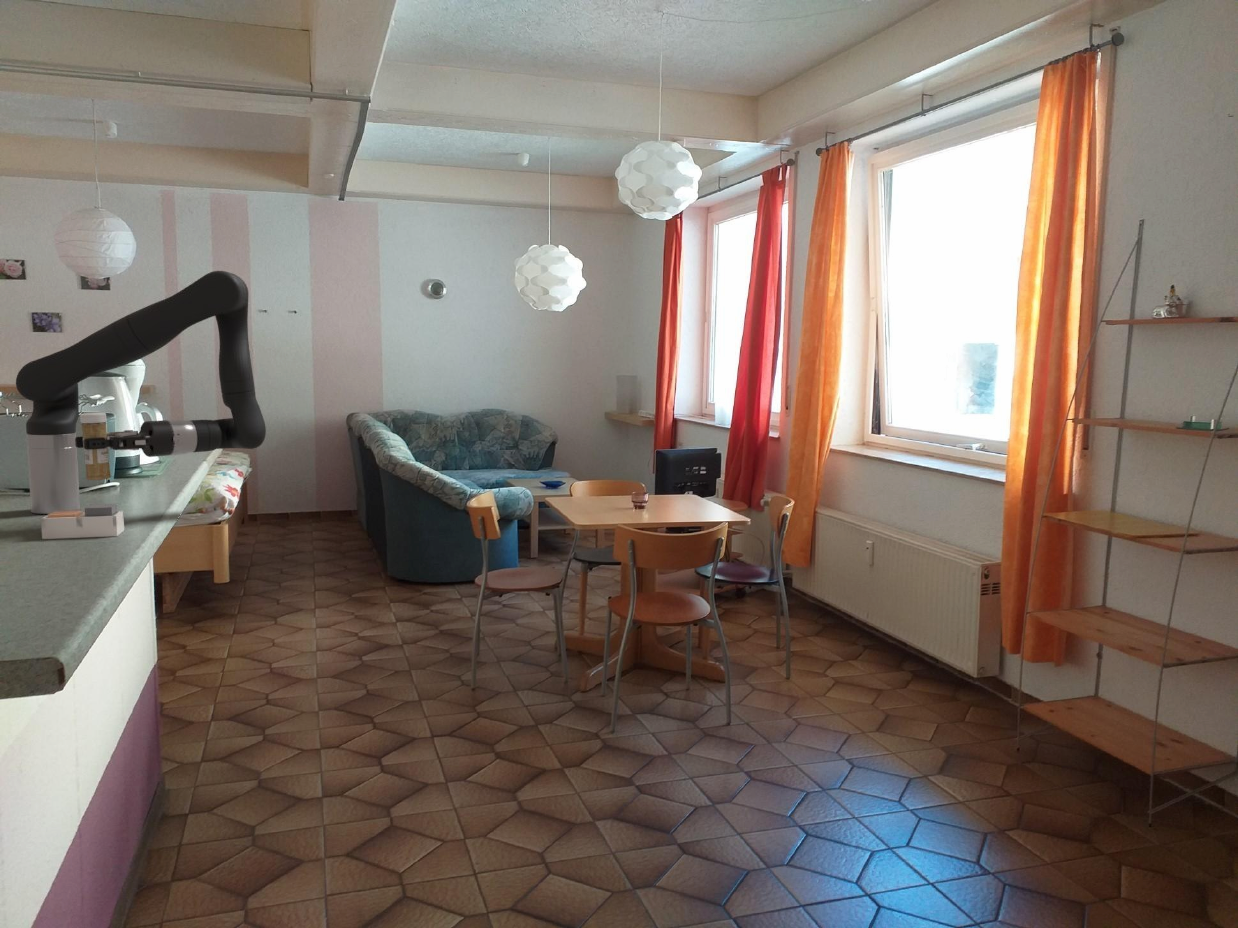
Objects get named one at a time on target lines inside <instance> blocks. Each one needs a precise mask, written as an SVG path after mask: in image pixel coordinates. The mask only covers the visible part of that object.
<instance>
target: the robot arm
mask: <svg viewBox="0 0 1238 928" xmlns="http://www.w3.org/2000/svg"><path fill="white" fill-rule="evenodd" d="M248 313H249V288H248V286H247V283H246V282H245V281H244V280H243V279H242V278H241V277H240V276H239V275H237V274H236V273H233V272H228V271H225V270H214V271H211V272H209V273H206V274H204V275H203V276H201V277H200V278H198V279H197V280H195V281H194V282H191V283H190V284H189V285H188V286H186V287H184V288H183V289H181V290H180V291H178V292H176V293H175V294H173V295H171V296H169V297H166V298H165V299H162V300H160V301H157V302H154V303H151V304H149V305H147V306H144V307H142V308H141V309H140V308H139V309H138V310H136V311H133V312H131V313H130V314H127V315H125V316H123V317H121V318H118V319H117V320H115V321H113V322H111V323H110V324H108V325H106V326H104V327H102V328H100V329H98V330H97V331H95V332H93V333H91V334H89V335H88V336H86V337H85V338H83V339H81V340H80V341H78V342H76V343H74V344H73V345H71V346H68V347H66V348H64V349H62V350H59V351H57V352H53V353H51V354H49V355H46V356H44V357H41V358H38V359H34V360H31V361H29V362H28V363H26V364H24V365H23V366H22V367H21V369H20V370H18V373H17V374H16V377H15V386H16V389H17V391H18V393H19V394H20V395H21V396H22V397H23V398H25V399H26V400H28V401H31V402H32V404H33V405H32V413H31V415H30V416H29V418H28V419H27V420H26V422H25V429H26V430H25V431H26V447H27V462H28V465H27V466H28V481H29V484H28V485H29V499H30V512H31V513H33V514H40V515H41V514H44V515H45V514H47V515H48V514H50V513H53V512H54V511H80V509H81V508H80V507H81V506H80V487H79V486H80V484H79V482H80V481H79V465H78V449H79V448H80V449H81V448H83V444H84V448H83V450H84V449H86V450H91V449H105V447H106V449H108V450H110V451H111V450H114V451H138V450H140V449H141V450H142V453H143V454H144V455H145V456H146V457H149V458H153V457H155V458H156V457H166V456H176V455H177V456H179V455H186V454H190V453H191V454H192V453H201V452H203V453H204V452H211V451H216V450H223V449H245V450H255V449H257V448H259V447H260V446H261V445H263V443H264V441H265V439H266V433H267V429H266V428H267V427H266V423H265V420H264V416H263V413H262V410H261V407H260V405H259V403H258V400H257V397H256V387H255V381H254V380H255V379H254V374H253V373H254V372H253V367H252V361H251V359H252V358H251V352H250V344H249V325H248V323H249V320H248V319H249V317H248V316H249V315H248ZM213 317H215V321H216V323H217V329H218V339H219V340H218V341H219V351H218V352H219V355H218V376H219V383H220V389H221V390H220V392H221V396H222V397H221V398H222V401H223V404H224V406H225V407H227V408H228V409H230V413H231V416H232V417H229V418H219V419H192V420H189V419H188V420H185V419H168V420H167V419H165V420H148V421H147V420H146V421H144V422H142V424H141V426H140V429H139V431H138V430H134V429H127V430H123V431H109V432H107V437H106V439H105V438H104V437H102V438H85V439H84V440H83V435H81V436H77V433H76V432H77V429H76V428H77V427H76V426H77V422H78V421H79V416H80V415H79V412H80V411H79V409H80V407H79V402H80V401H79V396H80V395H79V383H80V382H82V381H84V380H86V379H87V378H90V377H93V376H94V375H99V374H101V373H104V372H108V371H111V370H114V369H116V368H121V367H123V366H126V365H128V364H132V363H134V362H136V361H140V360H141V359H143V358H145V357H148V356H149V355H151V354H153V353H154V352H156V351H158V350H160V349H162V348H163V347H165V346H166V345H167V344H169V343H171V342H172V341H173V340H174V339H176V337H177V338H178V336H179V335H181V333H183V332H184V331H185V330H186V329H188V328H190V327H192V326H194V325H195V324H199V323H200V322H203V321H206V320H207V319H210V318H213Z"/></svg>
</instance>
